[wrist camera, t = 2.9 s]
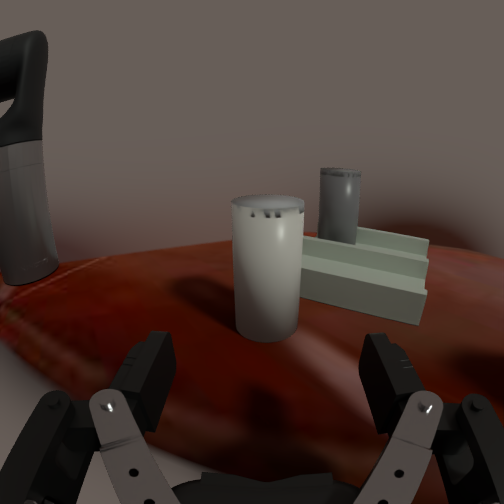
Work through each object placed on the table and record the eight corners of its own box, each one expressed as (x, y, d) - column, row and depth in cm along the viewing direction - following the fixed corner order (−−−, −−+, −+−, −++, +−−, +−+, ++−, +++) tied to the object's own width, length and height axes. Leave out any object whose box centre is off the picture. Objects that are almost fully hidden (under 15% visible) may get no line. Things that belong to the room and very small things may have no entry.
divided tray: (259, 286, 30) (259, 258, 29) (319, 240, 44) (320, 220, 43) (418, 325, 22) (426, 295, 21) (425, 260, 36) (429, 239, 35)
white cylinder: (223, 329, 23) (216, 203, 20) (256, 302, 27) (256, 192, 24) (279, 350, 21) (284, 211, 17) (306, 317, 25) (314, 199, 21)
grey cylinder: (311, 249, 37) (314, 169, 34) (324, 239, 41) (327, 167, 38) (349, 257, 35) (356, 173, 31) (358, 245, 39) (364, 170, 35)
